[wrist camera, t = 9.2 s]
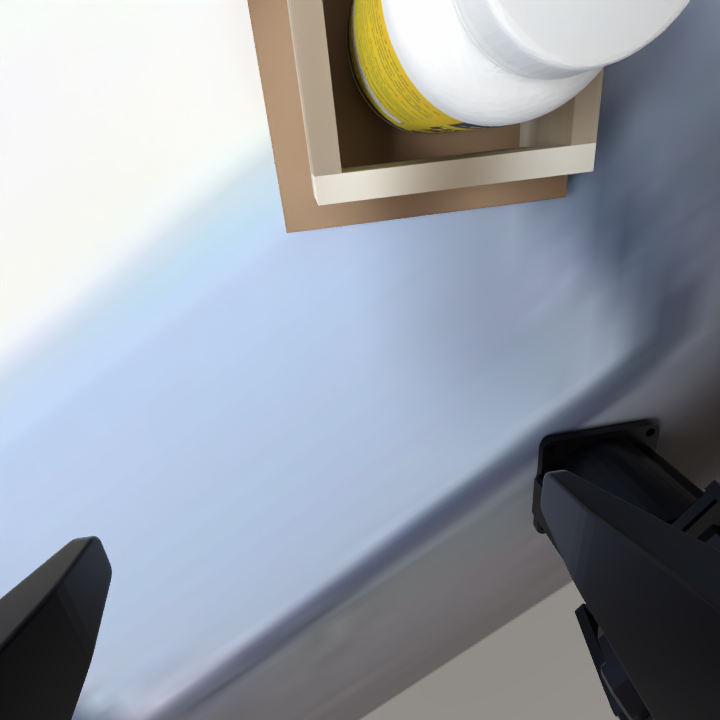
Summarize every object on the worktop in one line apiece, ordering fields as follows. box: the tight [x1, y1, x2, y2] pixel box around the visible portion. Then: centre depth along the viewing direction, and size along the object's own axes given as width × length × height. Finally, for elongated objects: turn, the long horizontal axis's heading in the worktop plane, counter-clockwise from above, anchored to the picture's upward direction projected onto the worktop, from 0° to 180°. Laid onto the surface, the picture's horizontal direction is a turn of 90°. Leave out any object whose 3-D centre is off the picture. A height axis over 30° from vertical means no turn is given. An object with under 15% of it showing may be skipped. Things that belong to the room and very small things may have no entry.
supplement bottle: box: [347, 0, 691, 134], centre depth 11 cm, size 5×5×10 cm
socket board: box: [247, 0, 604, 233], centre depth 14 cm, size 11×11×5 cm
